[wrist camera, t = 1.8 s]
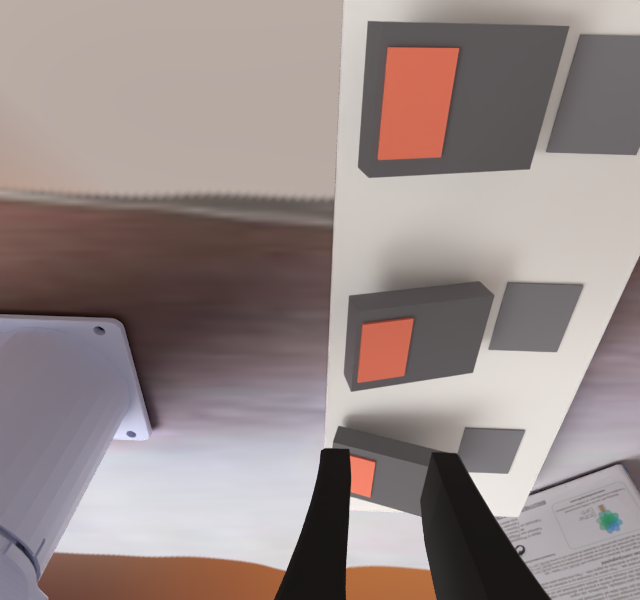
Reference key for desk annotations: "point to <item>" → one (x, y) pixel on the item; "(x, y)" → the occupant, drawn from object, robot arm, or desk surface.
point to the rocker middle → (414, 334)
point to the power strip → (496, 246)
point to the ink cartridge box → (582, 537)
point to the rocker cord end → (455, 96)
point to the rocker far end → (385, 469)
